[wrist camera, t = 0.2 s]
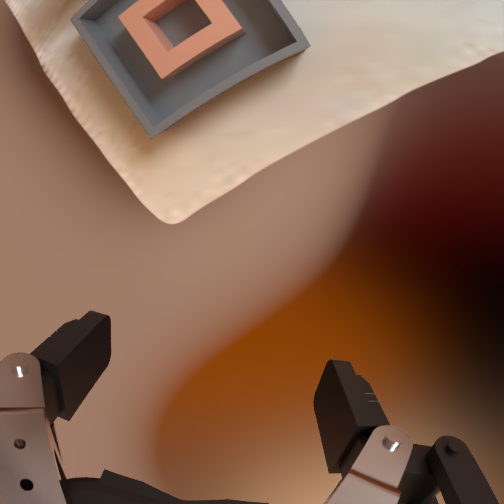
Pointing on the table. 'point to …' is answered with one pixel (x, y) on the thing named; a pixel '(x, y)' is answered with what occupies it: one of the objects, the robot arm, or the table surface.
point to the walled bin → (184, 50)
